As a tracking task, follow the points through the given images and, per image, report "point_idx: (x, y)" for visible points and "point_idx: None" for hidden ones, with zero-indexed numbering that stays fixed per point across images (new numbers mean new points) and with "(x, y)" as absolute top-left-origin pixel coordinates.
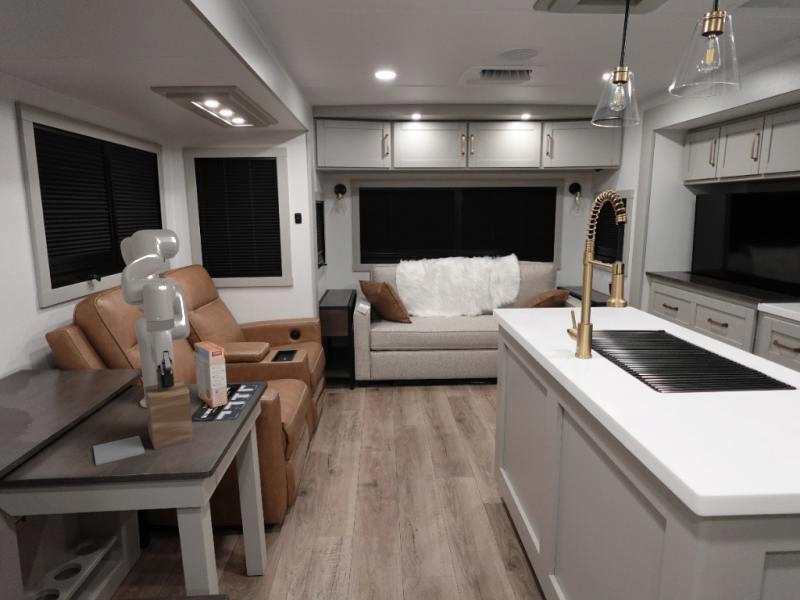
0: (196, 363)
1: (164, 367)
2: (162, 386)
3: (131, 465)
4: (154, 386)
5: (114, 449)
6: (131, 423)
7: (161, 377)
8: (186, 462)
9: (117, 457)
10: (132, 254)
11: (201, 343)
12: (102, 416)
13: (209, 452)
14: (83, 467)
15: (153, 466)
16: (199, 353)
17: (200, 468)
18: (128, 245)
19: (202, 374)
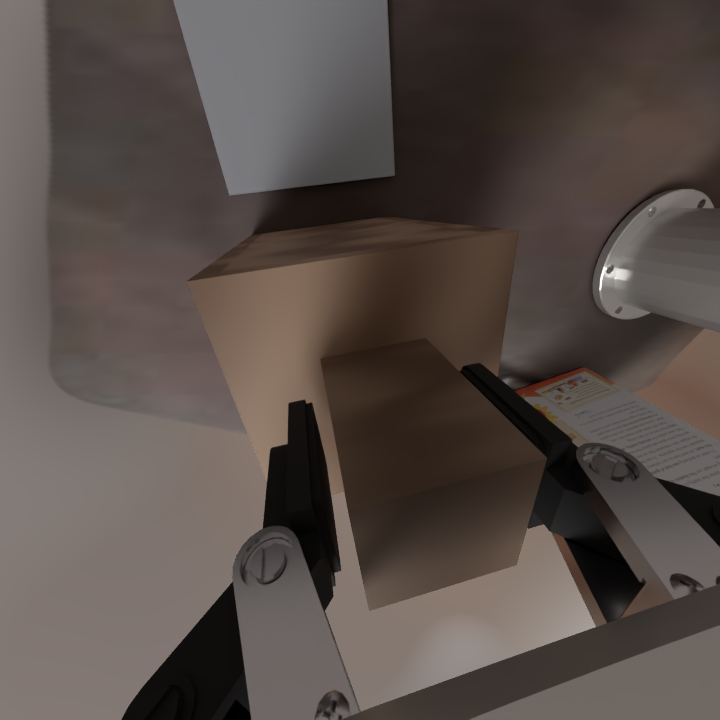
0: (711, 445)
1: (547, 513)
2: (288, 413)
3: (122, 132)
4: (479, 311)
5: (295, 49)
6: (540, 147)
7: (288, 488)
8: (112, 337)
9: (198, 61)
10: None
11: None
12: (701, 8)
13: (176, 397)
14: None
15: (96, 226)
16: None
17: (55, 376)
18: None
19: (619, 444)
